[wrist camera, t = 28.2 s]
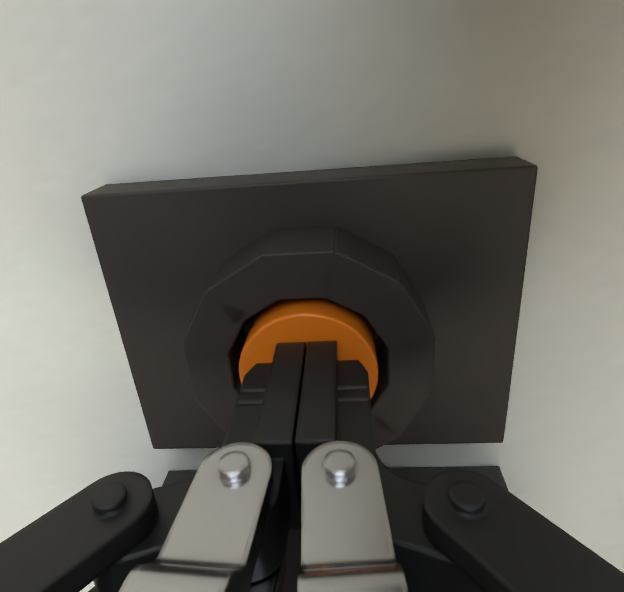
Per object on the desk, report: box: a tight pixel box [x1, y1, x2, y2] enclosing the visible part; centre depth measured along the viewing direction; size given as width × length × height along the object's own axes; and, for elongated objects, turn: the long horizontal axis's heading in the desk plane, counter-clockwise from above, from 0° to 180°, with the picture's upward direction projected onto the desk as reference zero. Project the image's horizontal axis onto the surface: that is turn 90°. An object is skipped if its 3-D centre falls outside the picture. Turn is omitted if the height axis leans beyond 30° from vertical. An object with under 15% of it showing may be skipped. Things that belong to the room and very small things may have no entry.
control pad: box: [81, 156, 537, 449], centre depth 14 cm, size 12×9×4 cm
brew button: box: [239, 298, 378, 399], centre depth 13 cm, size 4×4×2 cm
